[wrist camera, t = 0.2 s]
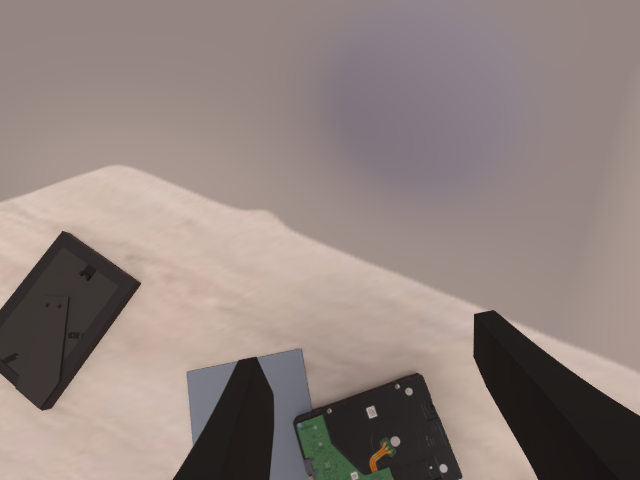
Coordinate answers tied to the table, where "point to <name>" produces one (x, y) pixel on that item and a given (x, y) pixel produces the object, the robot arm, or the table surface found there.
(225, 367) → the mat
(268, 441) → the robot arm
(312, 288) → the table surface
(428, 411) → the disk drive
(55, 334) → the picture frame
